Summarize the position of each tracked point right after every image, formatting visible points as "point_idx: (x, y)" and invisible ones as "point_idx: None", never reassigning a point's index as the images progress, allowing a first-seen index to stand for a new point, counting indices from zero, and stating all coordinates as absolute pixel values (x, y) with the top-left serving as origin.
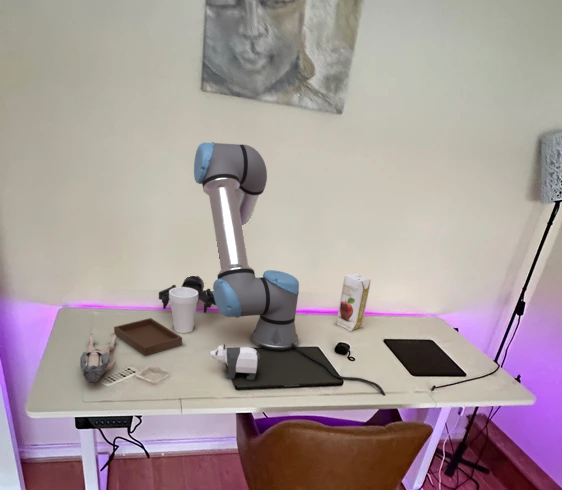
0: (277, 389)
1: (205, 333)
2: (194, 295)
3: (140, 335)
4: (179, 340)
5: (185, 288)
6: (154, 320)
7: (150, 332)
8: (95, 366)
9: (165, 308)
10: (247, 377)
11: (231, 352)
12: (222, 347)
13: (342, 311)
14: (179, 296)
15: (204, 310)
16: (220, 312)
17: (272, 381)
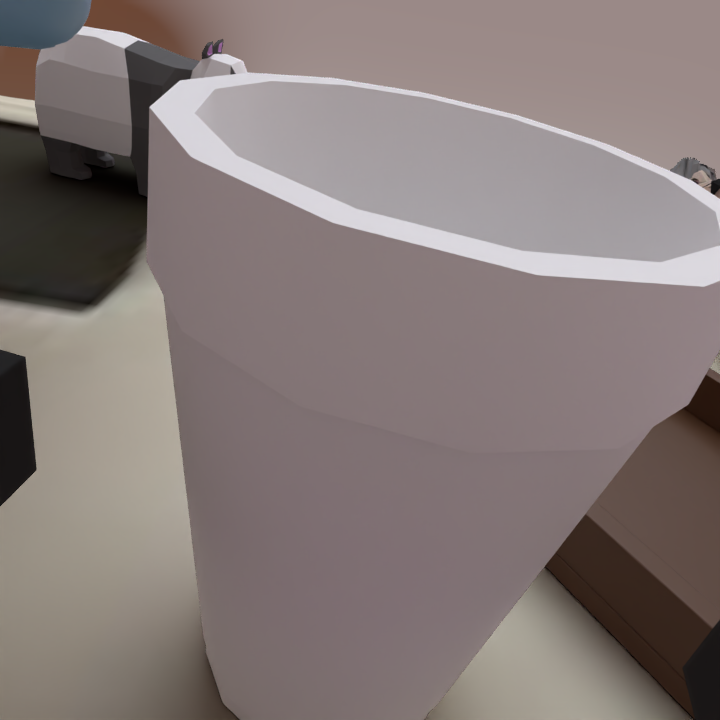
0: (32, 123)
1: (98, 508)
2: (275, 80)
3: (705, 497)
4: None
5: (431, 246)
6: (710, 623)
7: (651, 532)
8: (685, 159)
9: (685, 672)
10: (111, 157)
11: (184, 57)
12: (221, 54)
13: None
14: (505, 116)
15: (22, 432)
16: (69, 38)
17: (13, 139)
